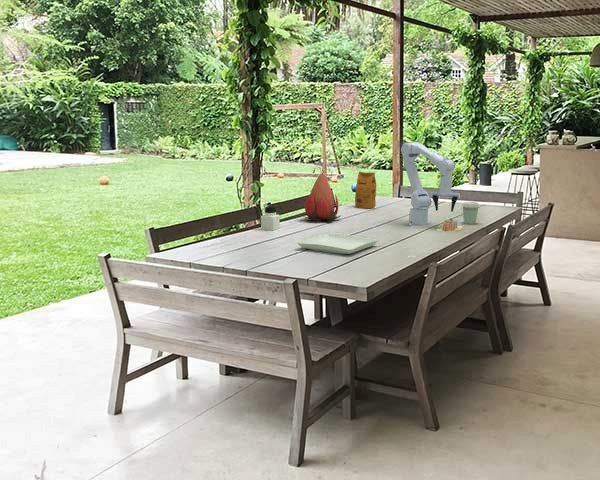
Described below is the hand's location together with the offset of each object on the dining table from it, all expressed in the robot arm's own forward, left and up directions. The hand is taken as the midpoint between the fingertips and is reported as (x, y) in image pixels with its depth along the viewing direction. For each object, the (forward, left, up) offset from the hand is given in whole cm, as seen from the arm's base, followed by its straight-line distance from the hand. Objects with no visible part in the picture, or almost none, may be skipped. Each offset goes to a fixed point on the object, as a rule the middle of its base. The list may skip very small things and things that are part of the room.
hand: (444, 210), depth 353 cm
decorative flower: (-67, +5, -10) cm, 68 cm away
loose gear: (+3, -4, -9) cm, 10 cm away
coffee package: (-57, +58, -10) cm, 83 cm away
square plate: (-36, -62, -10) cm, 72 cm away
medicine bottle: (-82, -31, -10) cm, 88 cm away
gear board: (+3, 0, -10) cm, 10 cm away
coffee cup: (+11, +18, -10) cm, 24 cm away
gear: (+3, +3, -9) cm, 10 cm away
